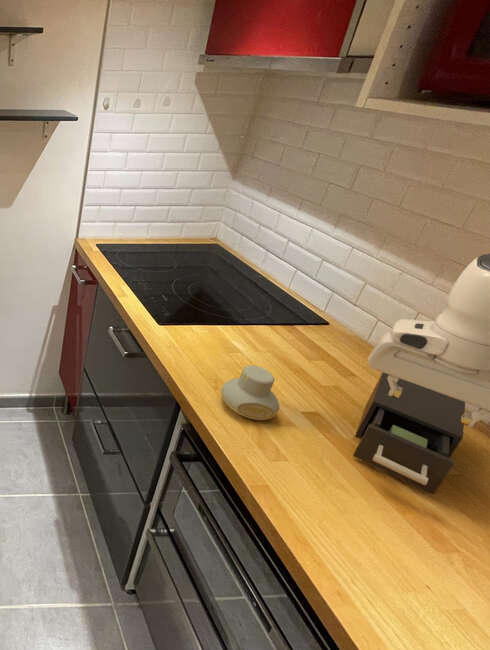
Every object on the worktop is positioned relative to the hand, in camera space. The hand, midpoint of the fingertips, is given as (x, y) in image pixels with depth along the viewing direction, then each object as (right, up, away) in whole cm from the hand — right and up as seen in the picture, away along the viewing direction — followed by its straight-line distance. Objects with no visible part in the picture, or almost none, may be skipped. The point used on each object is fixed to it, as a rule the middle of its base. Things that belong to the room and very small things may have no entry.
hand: (428, 409), depth 81 cm
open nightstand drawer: (0, -12, +6) cm, 14 cm away
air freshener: (-20, -7, +20) cm, 29 cm away
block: (0, -11, +5) cm, 13 cm away
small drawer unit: (+8, -10, +13) cm, 18 cm away
